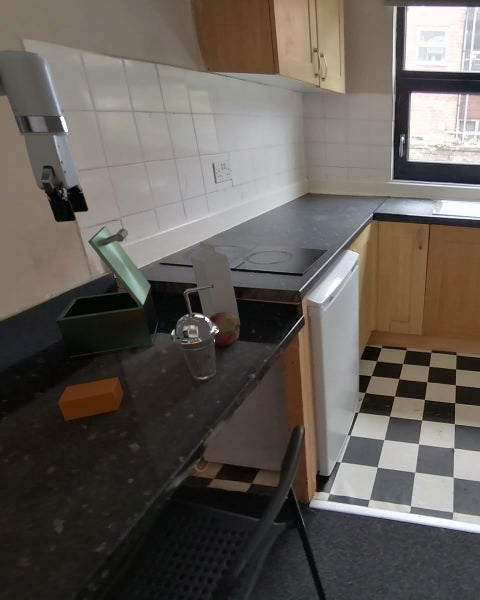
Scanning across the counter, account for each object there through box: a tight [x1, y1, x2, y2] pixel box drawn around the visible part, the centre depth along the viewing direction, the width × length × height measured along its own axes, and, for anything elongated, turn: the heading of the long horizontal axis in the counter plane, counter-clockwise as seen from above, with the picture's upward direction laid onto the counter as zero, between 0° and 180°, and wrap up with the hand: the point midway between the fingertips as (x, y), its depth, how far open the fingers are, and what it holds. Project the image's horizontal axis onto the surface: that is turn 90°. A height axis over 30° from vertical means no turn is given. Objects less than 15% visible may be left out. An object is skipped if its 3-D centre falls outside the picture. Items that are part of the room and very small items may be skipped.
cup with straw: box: [170, 285, 219, 382], centre depth 79 cm, size 8×9×20 cm
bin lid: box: [87, 225, 152, 307], centre depth 91 cm, size 17×13×5 cm
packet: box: [57, 376, 125, 422], centre depth 73 cm, size 8×5×4 cm, turn 113°
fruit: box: [209, 312, 241, 348], centre depth 93 cm, size 8×8×8 cm
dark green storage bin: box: [55, 288, 160, 361], centre depth 94 cm, size 16×13×10 cm
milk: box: [190, 241, 241, 326], centre depth 99 cm, size 6×6×22 cm
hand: (73, 216), depth 84 cm, fingers open, 9 cm apart
